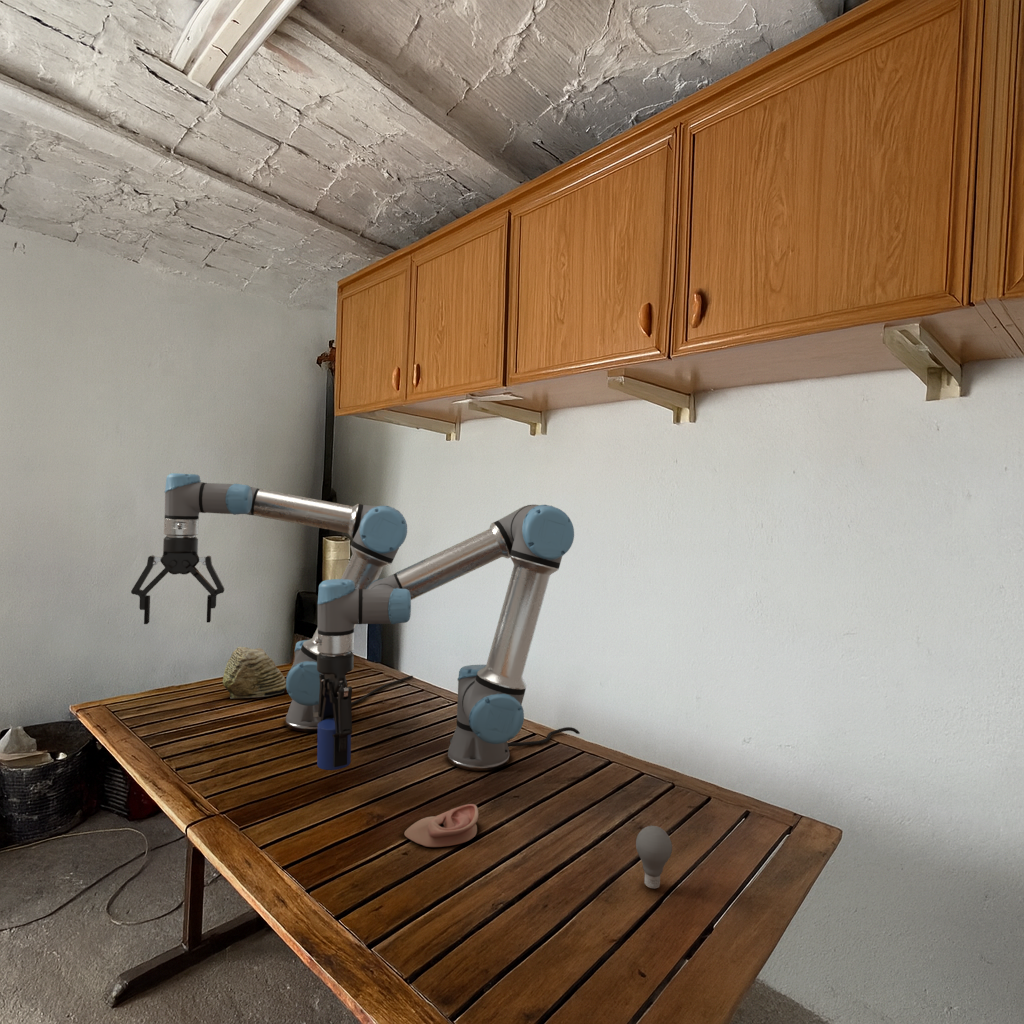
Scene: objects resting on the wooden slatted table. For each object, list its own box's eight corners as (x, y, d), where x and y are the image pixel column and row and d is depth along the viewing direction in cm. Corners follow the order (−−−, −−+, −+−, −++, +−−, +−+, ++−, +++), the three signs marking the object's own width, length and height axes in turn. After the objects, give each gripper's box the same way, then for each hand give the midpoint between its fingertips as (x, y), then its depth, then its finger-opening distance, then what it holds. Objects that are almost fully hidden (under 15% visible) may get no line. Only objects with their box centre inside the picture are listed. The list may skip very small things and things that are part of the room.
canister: (342, 771, 132) (343, 730, 132) (311, 768, 133) (311, 728, 133) (355, 758, 139) (356, 719, 138) (325, 755, 140) (326, 716, 139)
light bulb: (629, 875, 110) (632, 818, 110) (663, 875, 110) (666, 818, 110) (639, 897, 104) (642, 837, 104) (675, 897, 104) (678, 837, 104)
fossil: (218, 695, 195) (220, 647, 195) (278, 685, 208) (279, 640, 207) (228, 703, 189) (230, 653, 188) (289, 692, 201) (290, 645, 201)
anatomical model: (398, 821, 117) (420, 793, 128) (397, 842, 117) (419, 813, 128) (468, 831, 114) (483, 802, 126) (467, 853, 114) (482, 822, 126)
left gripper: (119, 536, 148) (116, 626, 148) (235, 538, 157) (232, 623, 157) (125, 534, 155) (122, 620, 155) (236, 536, 164) (234, 617, 164)
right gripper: (303, 644, 141) (302, 746, 142) (334, 665, 125) (332, 780, 125) (336, 641, 145) (335, 740, 146) (370, 660, 129) (368, 771, 130)
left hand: (178, 622), depth 156 cm, fingers open, 13 cm apart
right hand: (334, 758), depth 136 cm, fingers closed on canister, 7 cm apart
